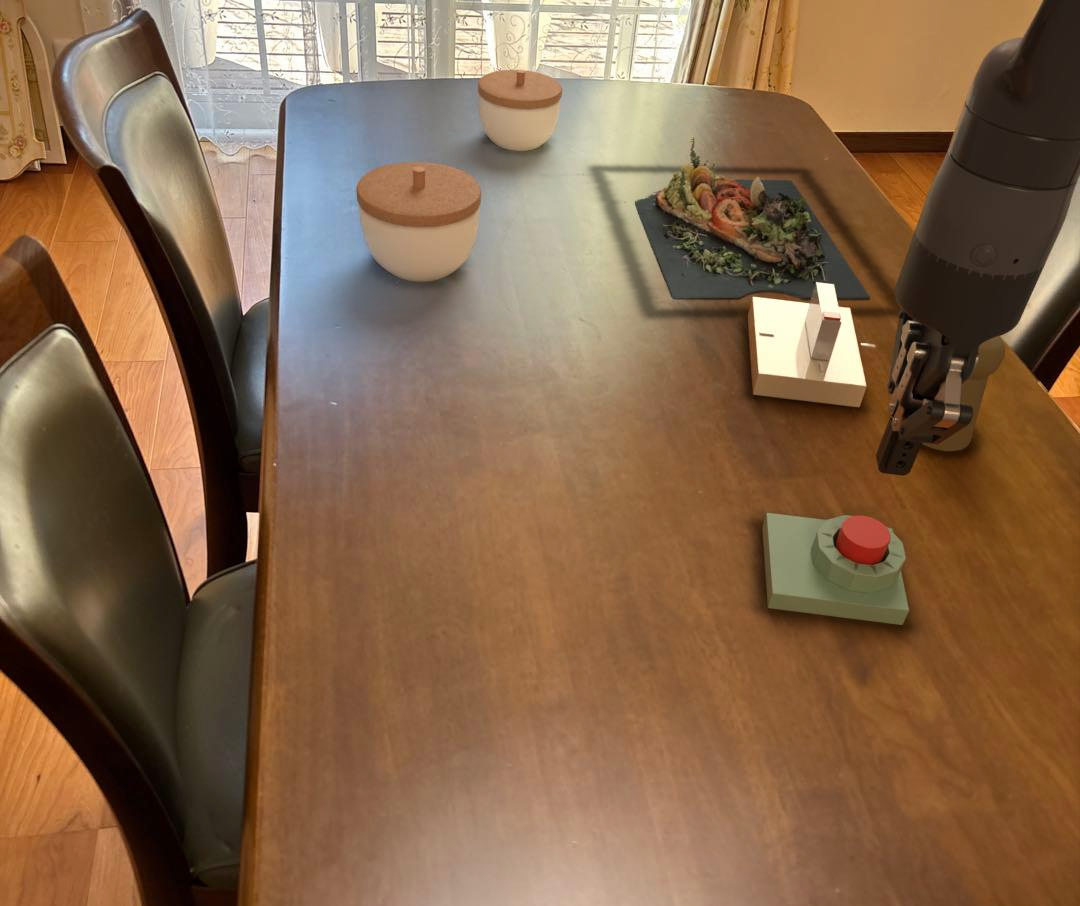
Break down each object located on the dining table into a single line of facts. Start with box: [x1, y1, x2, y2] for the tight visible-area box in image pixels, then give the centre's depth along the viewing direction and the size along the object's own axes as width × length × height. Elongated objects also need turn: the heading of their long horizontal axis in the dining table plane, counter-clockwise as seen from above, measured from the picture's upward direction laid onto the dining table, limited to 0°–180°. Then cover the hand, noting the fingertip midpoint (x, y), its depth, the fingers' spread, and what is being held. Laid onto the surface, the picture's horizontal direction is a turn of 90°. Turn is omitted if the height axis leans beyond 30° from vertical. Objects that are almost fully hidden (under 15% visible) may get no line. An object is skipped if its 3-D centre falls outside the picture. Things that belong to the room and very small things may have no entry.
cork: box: [922, 336, 1006, 452], centre depth 90 cm, size 6×6×11 cm
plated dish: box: [634, 137, 871, 301], centre depth 117 cm, size 35×28×7 cm
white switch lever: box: [805, 282, 842, 360], centre depth 98 cm, size 7×2×4 cm, turn 174°
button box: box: [761, 512, 910, 626], centre depth 78 cm, size 10×9×4 cm
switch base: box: [747, 296, 876, 408], centre depth 100 cm, size 12×14×3 cm
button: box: [836, 515, 891, 565], centre depth 76 cm, size 4×4×2 cm
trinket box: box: [477, 69, 563, 152], centre depth 132 cm, size 11×11×9 cm
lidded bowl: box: [356, 161, 482, 282], centre depth 106 cm, size 13×13×11 cm
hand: (891, 467), depth 71 cm, fingers closed
